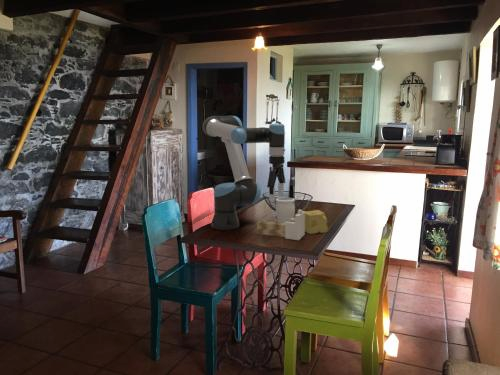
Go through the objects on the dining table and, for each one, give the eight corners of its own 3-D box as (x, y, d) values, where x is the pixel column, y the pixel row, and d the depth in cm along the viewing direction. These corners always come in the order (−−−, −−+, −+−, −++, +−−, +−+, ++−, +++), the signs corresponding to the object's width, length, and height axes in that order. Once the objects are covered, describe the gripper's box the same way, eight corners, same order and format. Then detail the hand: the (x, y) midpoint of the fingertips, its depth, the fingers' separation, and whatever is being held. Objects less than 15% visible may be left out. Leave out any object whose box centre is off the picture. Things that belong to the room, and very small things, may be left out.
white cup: (293, 228, 224) (294, 201, 221) (274, 227, 226) (274, 200, 223) (295, 223, 234) (295, 197, 231) (277, 223, 236) (277, 196, 234)
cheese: (327, 232, 216) (328, 213, 214) (308, 234, 212) (309, 215, 211) (317, 227, 225) (318, 209, 224) (299, 229, 222) (299, 211, 220)
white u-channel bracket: (284, 238, 205) (284, 210, 202) (291, 233, 215) (291, 206, 212) (299, 240, 202) (299, 211, 200) (305, 234, 212) (305, 207, 210)
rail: (257, 234, 214) (257, 222, 213) (260, 232, 217) (260, 220, 216) (295, 238, 206) (295, 225, 205) (297, 235, 210) (297, 224, 209)
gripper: (275, 158, 193) (275, 203, 196) (291, 153, 216) (291, 194, 219) (260, 157, 196) (260, 202, 199) (277, 153, 218) (277, 193, 222)
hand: (276, 198), depth 209 cm, fingers open, 13 cm apart
